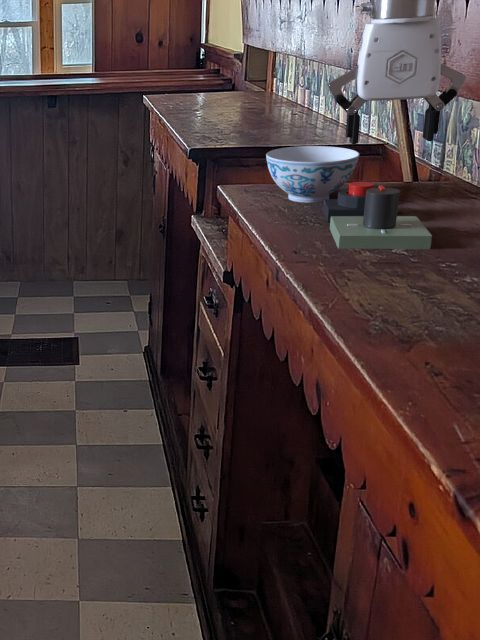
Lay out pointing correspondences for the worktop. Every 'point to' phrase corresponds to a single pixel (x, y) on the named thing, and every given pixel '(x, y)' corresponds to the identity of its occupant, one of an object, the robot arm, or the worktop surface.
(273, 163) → the chinaware
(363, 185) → the button
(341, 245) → the console
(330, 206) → the switch block
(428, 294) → the worktop surface
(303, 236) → the worktop surface
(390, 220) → the dark grey cylinder
